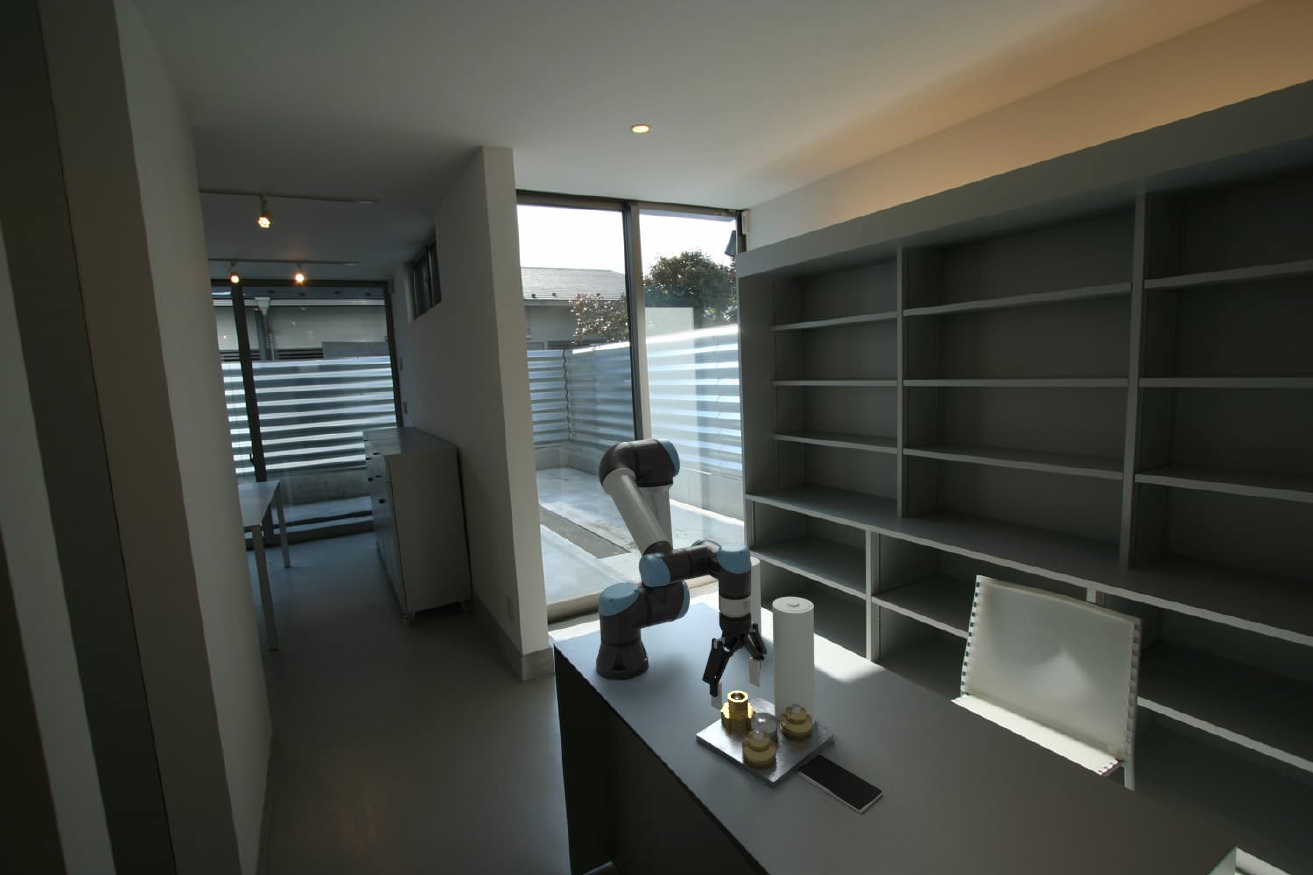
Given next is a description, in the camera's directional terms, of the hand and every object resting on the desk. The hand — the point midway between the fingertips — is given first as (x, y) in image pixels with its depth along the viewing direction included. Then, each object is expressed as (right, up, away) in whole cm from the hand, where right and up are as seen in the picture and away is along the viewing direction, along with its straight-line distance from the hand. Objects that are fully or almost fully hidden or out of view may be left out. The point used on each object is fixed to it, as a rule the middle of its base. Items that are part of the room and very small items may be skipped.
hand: (736, 695), depth 141 cm
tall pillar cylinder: (+9, -2, +45) cm, 46 cm away
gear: (0, -6, 0) cm, 6 cm away
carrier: (+6, -8, -5) cm, 11 cm away
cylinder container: (+14, -7, +2) cm, 16 cm away
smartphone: (+18, -10, -20) cm, 29 cm away
